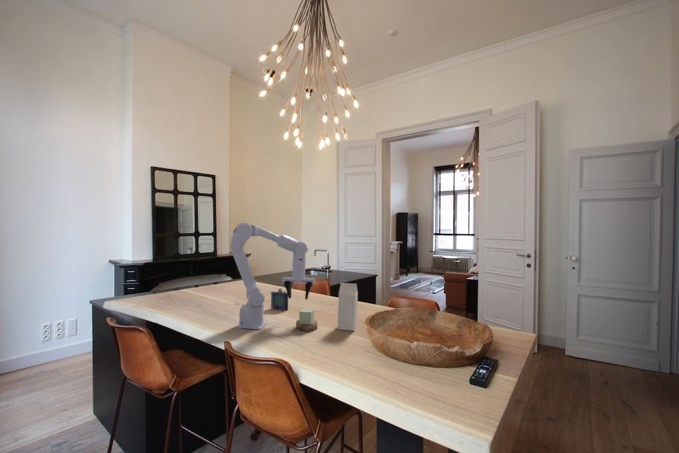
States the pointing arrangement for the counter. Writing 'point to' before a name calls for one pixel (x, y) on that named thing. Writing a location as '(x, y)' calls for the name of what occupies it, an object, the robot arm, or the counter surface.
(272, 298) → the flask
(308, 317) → the cube
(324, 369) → the counter surface
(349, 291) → the milk carton
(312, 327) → the base
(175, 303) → the counter surface
